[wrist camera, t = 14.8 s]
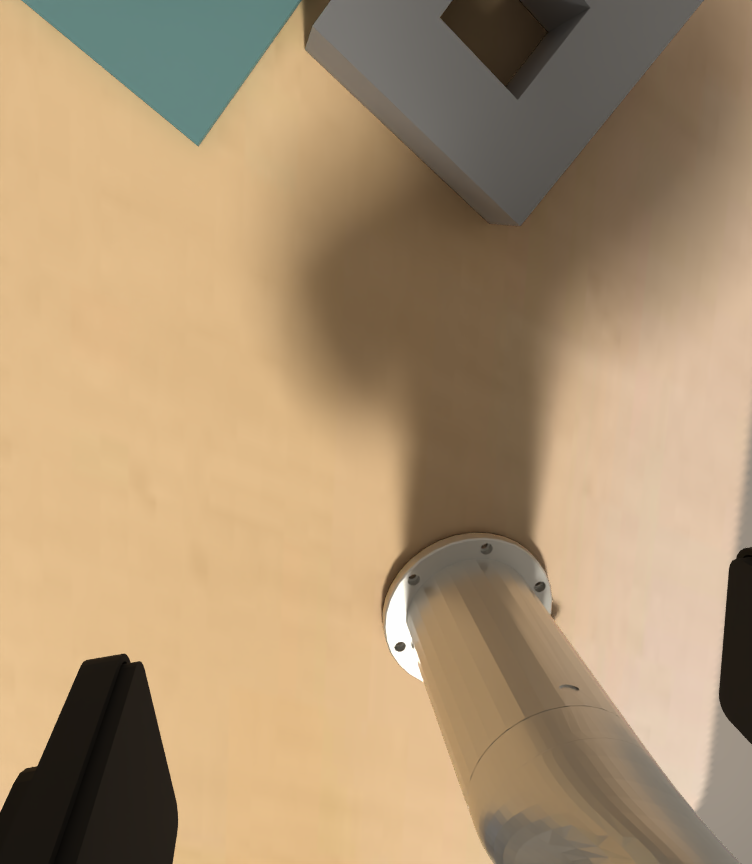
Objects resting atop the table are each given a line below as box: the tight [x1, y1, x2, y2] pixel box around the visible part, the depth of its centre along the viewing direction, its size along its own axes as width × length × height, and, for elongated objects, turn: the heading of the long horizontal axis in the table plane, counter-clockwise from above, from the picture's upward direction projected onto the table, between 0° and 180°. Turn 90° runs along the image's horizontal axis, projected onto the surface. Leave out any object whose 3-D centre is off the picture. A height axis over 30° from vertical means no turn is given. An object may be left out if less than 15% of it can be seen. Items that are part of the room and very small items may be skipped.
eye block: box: [305, 0, 704, 226], centre depth 34 cm, size 14×14×5 cm
